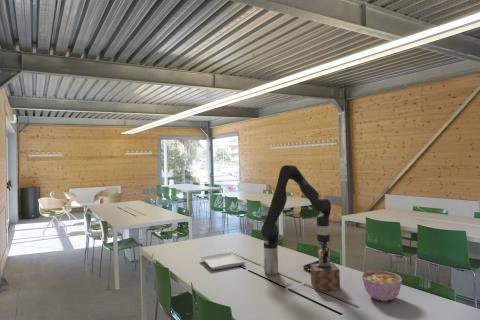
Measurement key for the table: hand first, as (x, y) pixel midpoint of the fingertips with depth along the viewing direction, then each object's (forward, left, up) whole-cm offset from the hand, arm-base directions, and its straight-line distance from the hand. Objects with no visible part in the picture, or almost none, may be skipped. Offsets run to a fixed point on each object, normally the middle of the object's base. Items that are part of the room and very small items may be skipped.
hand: (324, 261), depth 197 cm
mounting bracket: (+1, +28, -15) cm, 32 cm away
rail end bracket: (0, 0, -3) cm, 3 cm away
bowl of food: (+26, -18, -15) cm, 35 cm away
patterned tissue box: (0, 0, -15) cm, 15 cm away
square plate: (-63, +51, -16) cm, 82 cm away
